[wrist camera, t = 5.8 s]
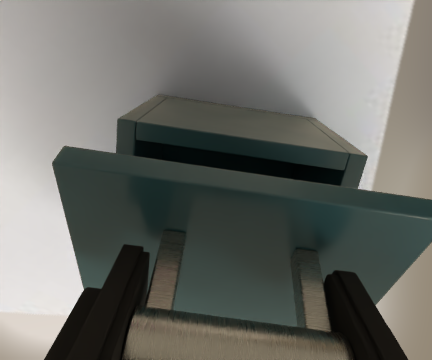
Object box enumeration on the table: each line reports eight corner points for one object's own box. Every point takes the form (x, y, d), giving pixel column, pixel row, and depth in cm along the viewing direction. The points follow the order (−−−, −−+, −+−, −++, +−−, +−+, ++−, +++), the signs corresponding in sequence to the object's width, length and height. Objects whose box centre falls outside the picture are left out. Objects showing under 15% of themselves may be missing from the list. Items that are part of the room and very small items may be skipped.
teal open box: (157, 94, 22) (117, 118, 14) (315, 118, 22) (368, 156, 14) (144, 256, 27) (107, 347, 18) (276, 274, 27) (299, 373, 19)
